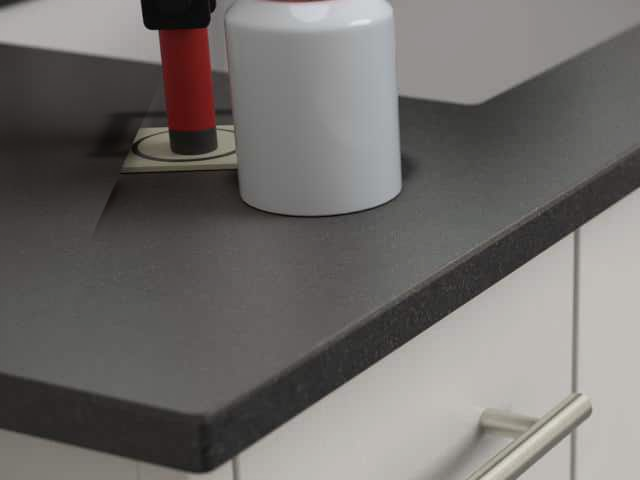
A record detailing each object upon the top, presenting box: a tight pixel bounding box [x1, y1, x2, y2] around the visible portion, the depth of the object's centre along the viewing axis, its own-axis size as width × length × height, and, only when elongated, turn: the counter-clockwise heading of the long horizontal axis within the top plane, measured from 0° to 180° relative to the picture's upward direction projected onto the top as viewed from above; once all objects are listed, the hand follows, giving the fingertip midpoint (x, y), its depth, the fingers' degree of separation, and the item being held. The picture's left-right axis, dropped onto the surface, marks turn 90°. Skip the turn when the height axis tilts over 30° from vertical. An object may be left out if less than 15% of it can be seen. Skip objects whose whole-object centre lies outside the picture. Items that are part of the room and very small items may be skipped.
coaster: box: [119, 124, 238, 174], centre depth 85 cm, size 8×7×1 cm
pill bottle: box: [223, 0, 403, 217], centre depth 76 cm, size 8×8×11 cm
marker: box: [157, 27, 218, 155], centre depth 81 cm, size 2×2×12 cm
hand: (181, 17), depth 80 cm, fingers closed on marker, 2 cm apart
